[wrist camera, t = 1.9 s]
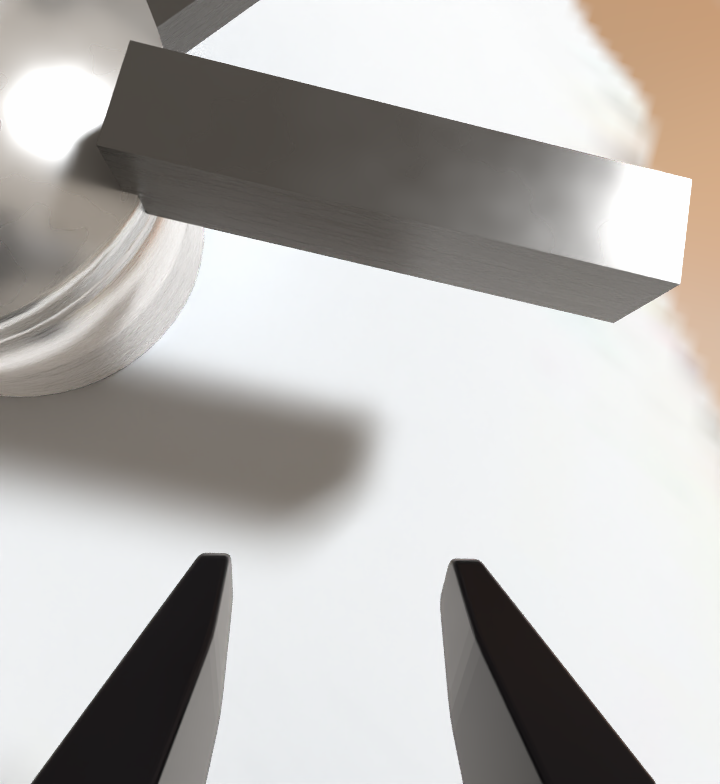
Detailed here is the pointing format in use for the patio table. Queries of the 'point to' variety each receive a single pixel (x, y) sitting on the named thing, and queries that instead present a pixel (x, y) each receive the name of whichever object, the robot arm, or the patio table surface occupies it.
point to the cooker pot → (121, 269)
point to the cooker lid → (295, 176)
